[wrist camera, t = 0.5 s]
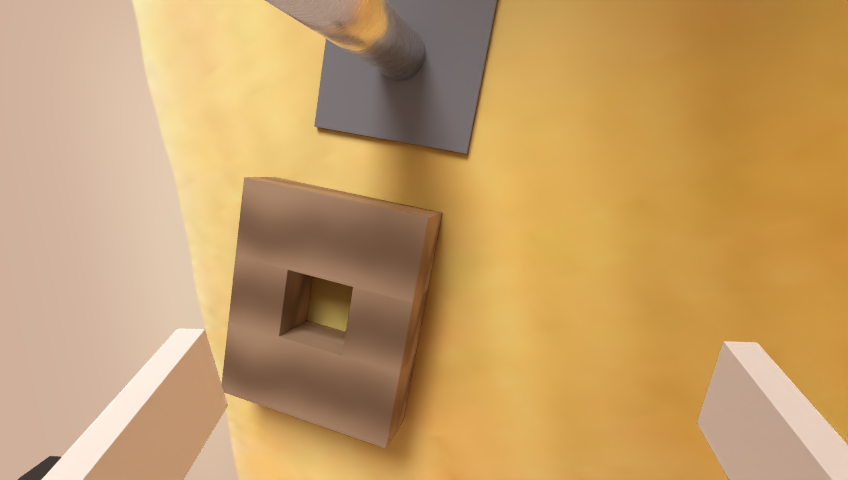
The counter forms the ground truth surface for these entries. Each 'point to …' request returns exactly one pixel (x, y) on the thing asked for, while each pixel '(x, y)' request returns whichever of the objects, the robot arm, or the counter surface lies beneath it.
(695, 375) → the counter surface
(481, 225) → the counter surface
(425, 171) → the counter surface
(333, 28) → the metal pin
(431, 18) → the rubber mat
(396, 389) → the socket block
